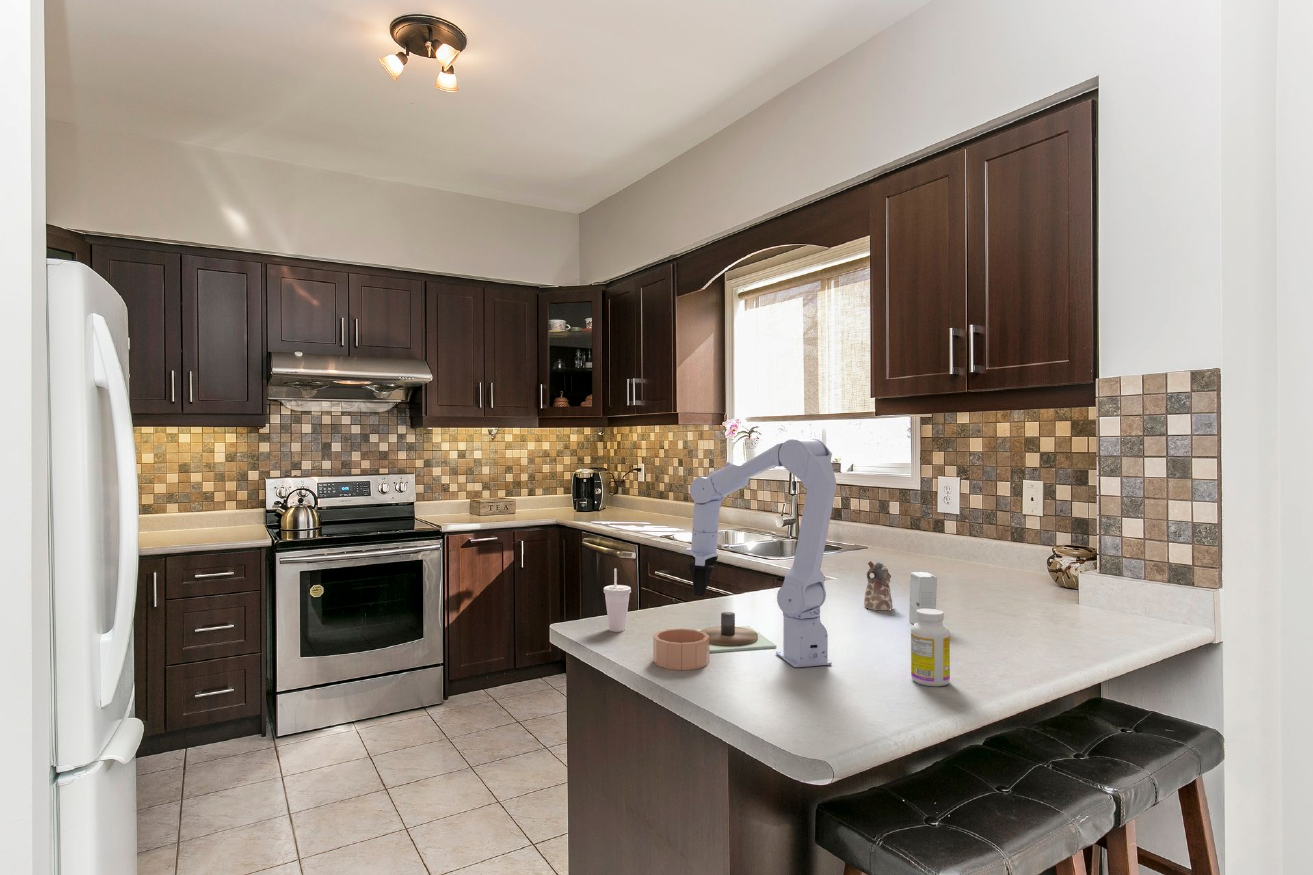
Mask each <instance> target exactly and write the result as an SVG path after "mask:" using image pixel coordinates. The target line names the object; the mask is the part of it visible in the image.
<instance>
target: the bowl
mask: <svg viewBox="0 0 1313 875" xmlns="http://www.w3.org/2000/svg"><path fill="white" fill-rule="evenodd" d="M652 639H653V640H652V646H653V648H652V654H653V655H652V661H653V663H654V662H655V663H654V664H655V666H657V665H658V666H657V667H661V668H663V667H664V668H663V669H666V670H674V671H689V670H691V669H692V670H698V669H701V668H704V667H707V665H708V664H709V663H710V653H709V635H708V634H706V633H705V632H702V631H698V630H696V629H693V628H692V629H690V628H670V629H663V630H659V631H657V632H655V633H654V635H653V637H652Z"/></svg>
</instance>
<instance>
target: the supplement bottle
mask: <svg viewBox="0 0 1313 875" xmlns="http://www.w3.org/2000/svg"><path fill="white" fill-rule="evenodd" d="M944 614H945V613H944V611H943V610H939V609H937V608H936V609H918V610H917V611H916V617H917V619H918V622H917V623H915V624H914V625H913V624H912V626H911V627H910V662H911V663H910V671H911V672H910V673H911V674H910V676H911V679H912V681H913V682H915V683H916V684H919V685H922V686H925V687H943V686H946V685H948V684H949V683H950V681H951V680H950V679H951V678H950V677H951V676H950V675H951V667H950V666H951V660H950V659H951V658H950V657H951V654H950V653H951V652H950V650H951V649H950V645H951V643H950V641H951V640H950V638H951V633H950V630H949V629H950V628H949V627H947V625H944V623H943V622H944V619H945V615H944Z"/></svg>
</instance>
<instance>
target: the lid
mask: <svg viewBox="0 0 1313 875" xmlns="http://www.w3.org/2000/svg"><path fill="white" fill-rule="evenodd" d="M735 623H736V613H735V612H732V611H724V612H721V613H720V625H718V626H710V627H706V628H701V629H702V630H701V631H702V632H705V633H706V634H708V635H709V644H712V645H718V646H743V645H749V644H752V643H755V642H756V641H757V640H758V634H757V633H756V632H755V631H756V630H755V631H753V630H750V629H746V628H741V627H742V626H735V625H736V624H735Z"/></svg>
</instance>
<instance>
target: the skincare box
mask: <svg viewBox="0 0 1313 875" xmlns="http://www.w3.org/2000/svg"><path fill="white" fill-rule="evenodd" d="M909 584H910V585H909V611H908V613H909V614H908V616H909V618H908V621H909V623H911V624H912V623H913V624H915V623H917V622H918V619H917V617H916V611H917V610H918V609H936V610H937V594H938V593H937V590H938V577H937V576H936V575H934V574H932V573H930V572H927V571H914V572H910V583H909ZM913 624H912V625H913Z"/></svg>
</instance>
